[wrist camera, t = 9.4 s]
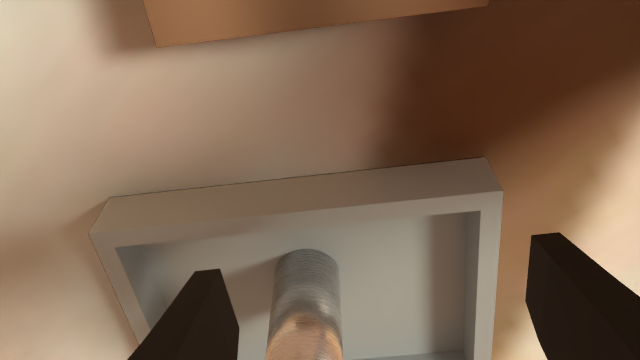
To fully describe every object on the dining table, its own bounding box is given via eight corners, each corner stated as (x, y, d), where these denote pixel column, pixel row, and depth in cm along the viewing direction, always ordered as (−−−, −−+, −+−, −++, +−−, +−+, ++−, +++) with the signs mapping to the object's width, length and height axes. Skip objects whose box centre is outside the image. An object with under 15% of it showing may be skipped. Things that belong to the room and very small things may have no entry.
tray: (485, 157, 22) (503, 190, 19) (475, 351, 28) (488, 392, 26) (109, 197, 23) (88, 233, 20) (183, 375, 29) (172, 417, 27)
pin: (342, 227, 23) (351, 381, 16) (363, 298, 25) (378, 458, 18) (246, 247, 23) (217, 402, 17) (275, 314, 26) (259, 475, 19)
